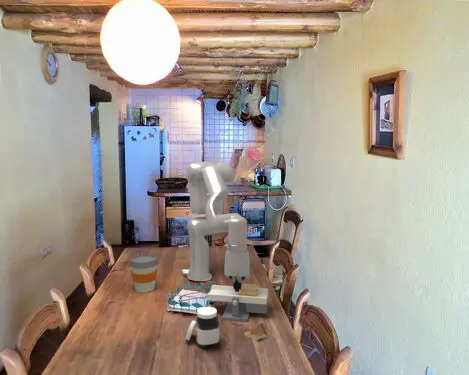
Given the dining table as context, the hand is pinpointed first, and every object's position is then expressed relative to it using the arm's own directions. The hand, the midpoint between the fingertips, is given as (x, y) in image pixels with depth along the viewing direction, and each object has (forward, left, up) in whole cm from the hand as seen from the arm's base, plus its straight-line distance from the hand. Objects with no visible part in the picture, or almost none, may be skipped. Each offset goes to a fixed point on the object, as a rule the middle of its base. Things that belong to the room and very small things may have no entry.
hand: (237, 290), depth 162 cm
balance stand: (0, 0, -9) cm, 9 cm away
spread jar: (-9, -26, -9) cm, 29 cm away
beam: (0, 0, -7) cm, 7 cm away
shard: (+9, -17, -10) cm, 22 cm away
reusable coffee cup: (-47, +16, -9) cm, 50 cm away
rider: (+5, 0, -2) cm, 5 cm away
